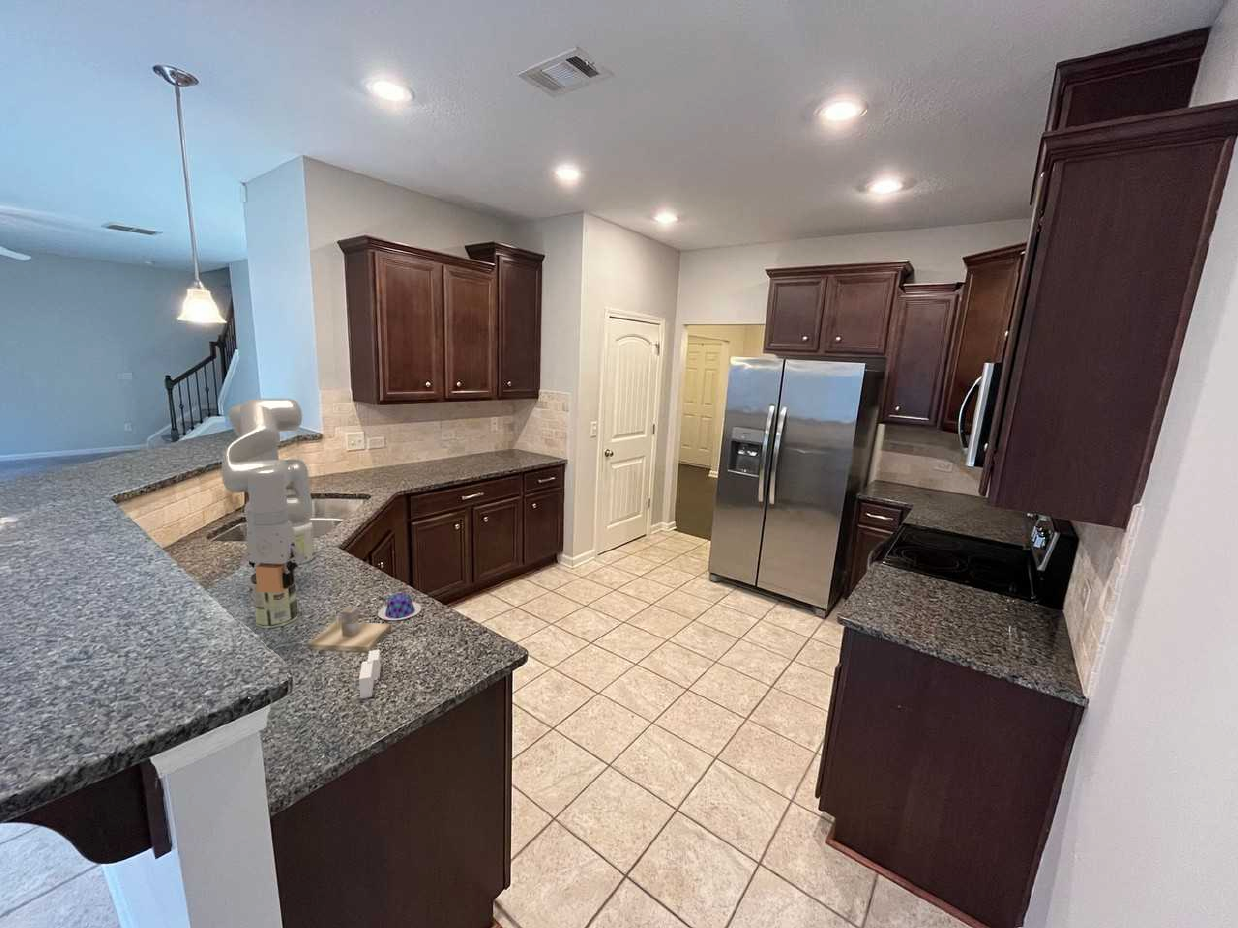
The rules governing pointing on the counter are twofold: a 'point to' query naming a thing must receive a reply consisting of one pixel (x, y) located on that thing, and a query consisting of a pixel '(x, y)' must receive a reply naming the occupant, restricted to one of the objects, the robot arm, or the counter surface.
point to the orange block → (270, 578)
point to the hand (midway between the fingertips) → (276, 584)
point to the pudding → (399, 607)
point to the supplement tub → (305, 540)
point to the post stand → (350, 634)
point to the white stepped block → (369, 673)
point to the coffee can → (274, 606)
